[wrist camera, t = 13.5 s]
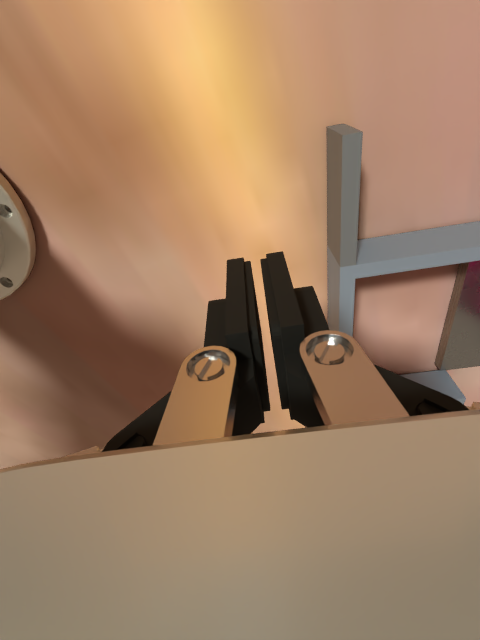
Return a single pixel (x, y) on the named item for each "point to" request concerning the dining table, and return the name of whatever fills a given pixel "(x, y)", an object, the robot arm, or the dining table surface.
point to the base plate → (462, 322)
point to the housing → (380, 245)
